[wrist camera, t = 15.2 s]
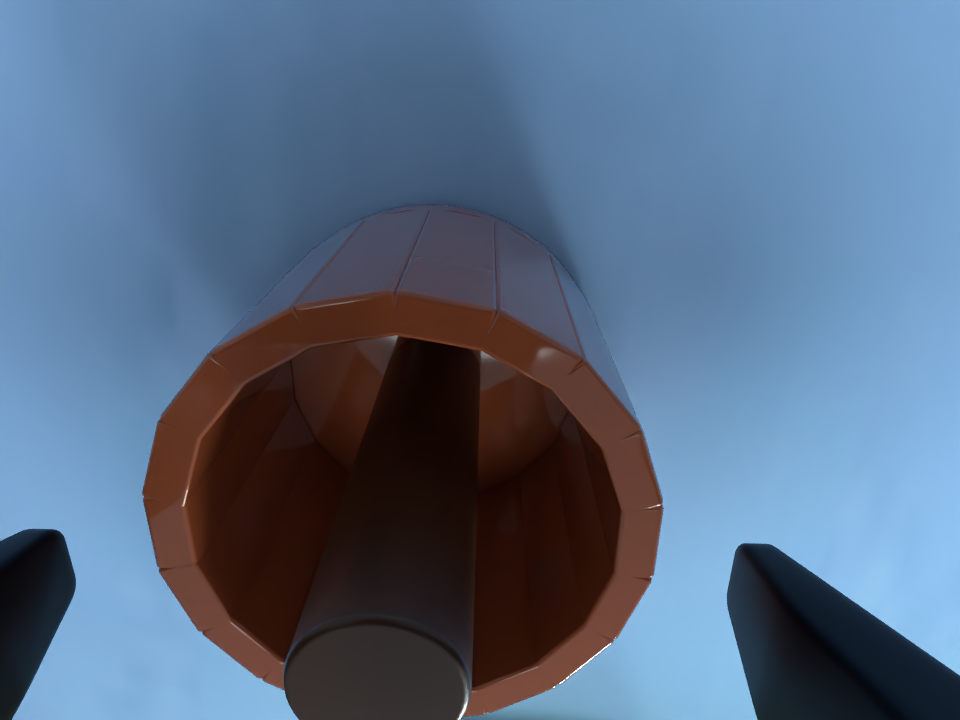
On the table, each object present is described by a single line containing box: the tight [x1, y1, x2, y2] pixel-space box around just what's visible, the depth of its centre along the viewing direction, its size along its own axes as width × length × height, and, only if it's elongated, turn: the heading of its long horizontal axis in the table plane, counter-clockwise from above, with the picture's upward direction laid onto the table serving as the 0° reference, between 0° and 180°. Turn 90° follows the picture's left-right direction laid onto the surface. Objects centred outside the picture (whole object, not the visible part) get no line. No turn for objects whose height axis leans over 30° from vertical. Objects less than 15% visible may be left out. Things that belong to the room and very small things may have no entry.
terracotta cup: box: [142, 205, 664, 717], centre depth 12 cm, size 7×7×6 cm
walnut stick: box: [283, 338, 480, 720], centre depth 11 cm, size 2×2×8 cm
